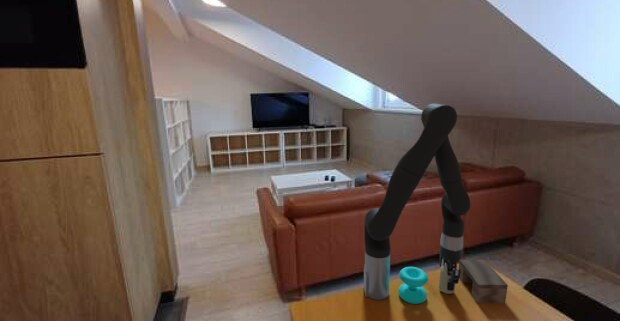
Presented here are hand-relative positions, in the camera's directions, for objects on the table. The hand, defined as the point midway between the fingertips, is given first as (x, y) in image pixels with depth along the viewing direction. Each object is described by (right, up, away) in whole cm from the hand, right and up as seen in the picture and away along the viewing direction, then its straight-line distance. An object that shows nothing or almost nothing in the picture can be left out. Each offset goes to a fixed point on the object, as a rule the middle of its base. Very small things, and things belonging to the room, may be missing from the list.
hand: (447, 284), depth 115 cm
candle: (0, -2, +1) cm, 2 cm away
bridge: (+13, -2, +2) cm, 14 cm away
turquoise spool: (-14, -4, -1) cm, 14 cm away
